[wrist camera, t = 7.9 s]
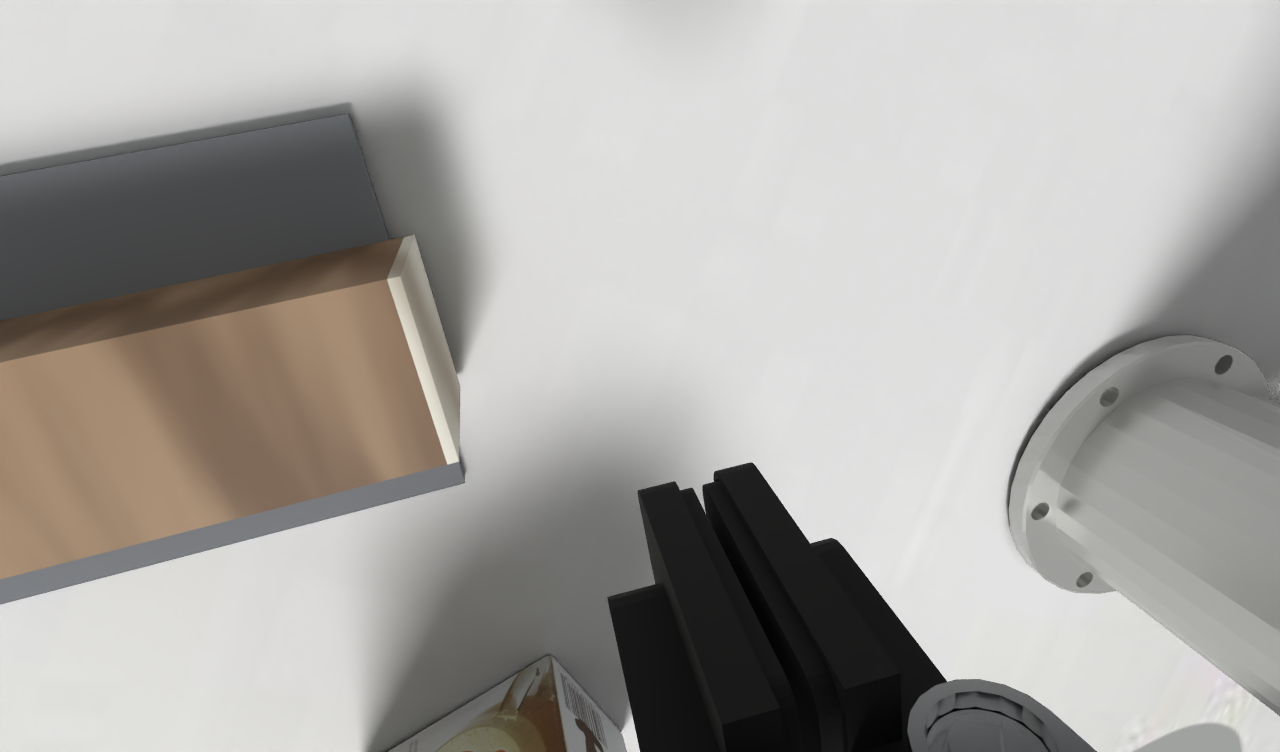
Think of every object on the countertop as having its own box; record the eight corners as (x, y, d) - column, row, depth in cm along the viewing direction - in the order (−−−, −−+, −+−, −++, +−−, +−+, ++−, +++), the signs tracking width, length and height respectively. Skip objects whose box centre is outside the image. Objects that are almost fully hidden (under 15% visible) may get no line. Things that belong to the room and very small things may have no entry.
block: (400, 276, 16) (-197, 405, 14) (459, 461, 18) (-55, 593, 16) (414, 234, 20) (-37, 327, 19) (460, 386, 22) (58, 483, 21)
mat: (349, 113, 19) (347, 114, 19) (464, 477, 24) (464, 483, 24) (-324, 234, 17) (-342, 237, 16) (-43, 608, 22) (-52, 617, 21)
